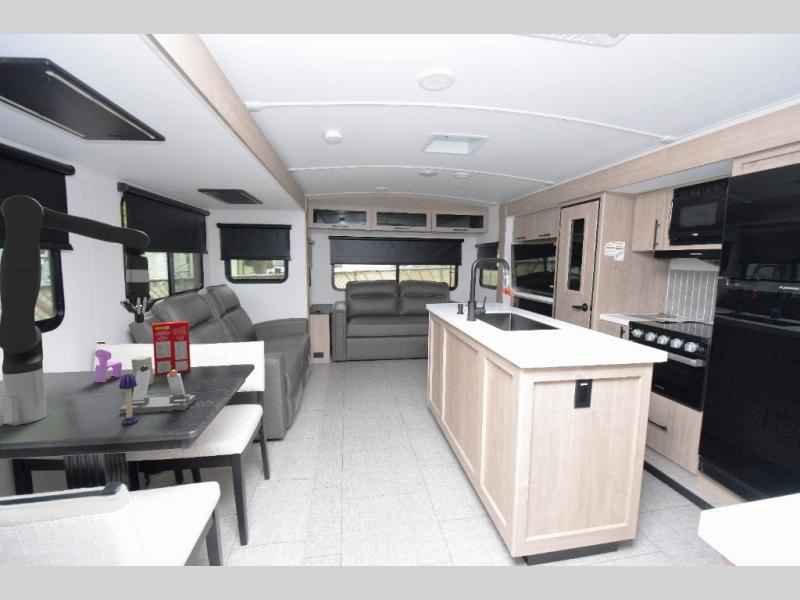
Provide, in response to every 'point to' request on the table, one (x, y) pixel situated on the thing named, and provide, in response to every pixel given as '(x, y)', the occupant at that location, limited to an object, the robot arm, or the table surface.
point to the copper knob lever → (176, 385)
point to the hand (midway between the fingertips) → (139, 323)
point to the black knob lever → (141, 384)
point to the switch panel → (159, 404)
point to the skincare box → (140, 362)
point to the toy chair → (106, 366)
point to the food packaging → (171, 347)
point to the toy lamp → (128, 397)
